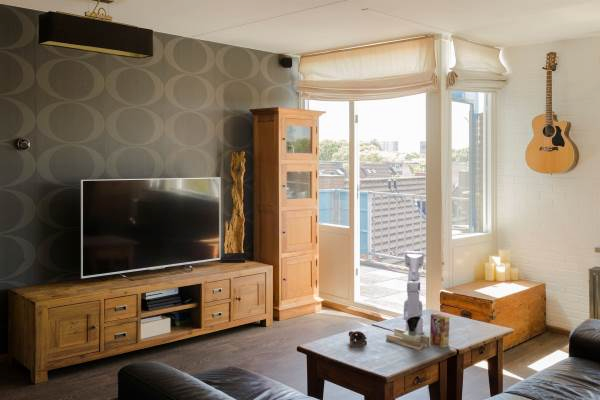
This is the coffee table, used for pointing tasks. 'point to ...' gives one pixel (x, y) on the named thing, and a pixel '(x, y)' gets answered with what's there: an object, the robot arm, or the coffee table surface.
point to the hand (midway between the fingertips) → (412, 331)
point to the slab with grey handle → (412, 336)
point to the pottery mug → (357, 338)
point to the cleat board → (399, 340)
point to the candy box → (439, 330)
